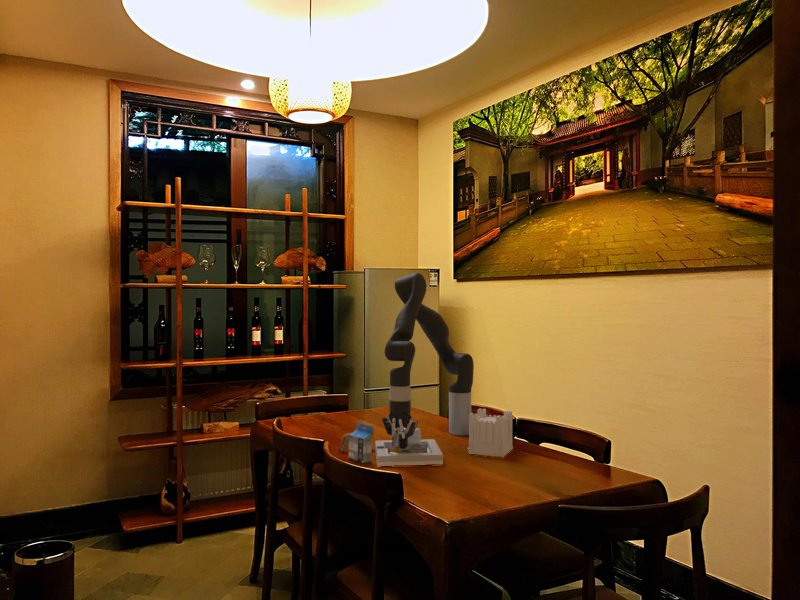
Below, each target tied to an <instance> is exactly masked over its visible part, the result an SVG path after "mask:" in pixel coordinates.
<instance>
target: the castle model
mask: <svg viewBox="0 0 800 600" xmlns="http://www.w3.org/2000/svg"><path fill="white" fill-rule="evenodd" d="M467 449H468V450H469V451H468V450H467V452H468V453H469V454H479V455H491V456H502V457H504V456H505V455H506V454H507V453H509V452H510V451H511V450H512V449H513V450H514V446H513V411H512V410H504V411H503V415H494V414H493V416H492V415H491V414H489V415H488V414H487V408H478V409H477V412H476V413H473V412H472V413H471V414H469V435H468V447H467ZM513 450H512V451H513ZM512 451H511V452H512ZM511 452H510V453H511ZM468 453H467V454H468ZM510 453H509V454H510ZM469 454H468V455H469Z"/></svg>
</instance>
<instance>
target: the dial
mask: <svg viewBox="0 0 800 600" xmlns="http://www.w3.org/2000/svg"><path fill="white" fill-rule="evenodd" d="M421 440H422V428H419V427H416V429H415V431H414V433H413V435H412V436H410V437H408V446H407V447H406V448H405V449H402V433H401V431H398V433H394V434H393V445H391V446H389V447H388V454H389V453H390V452H394V453H427V447H426V446H424V445H421Z"/></svg>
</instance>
